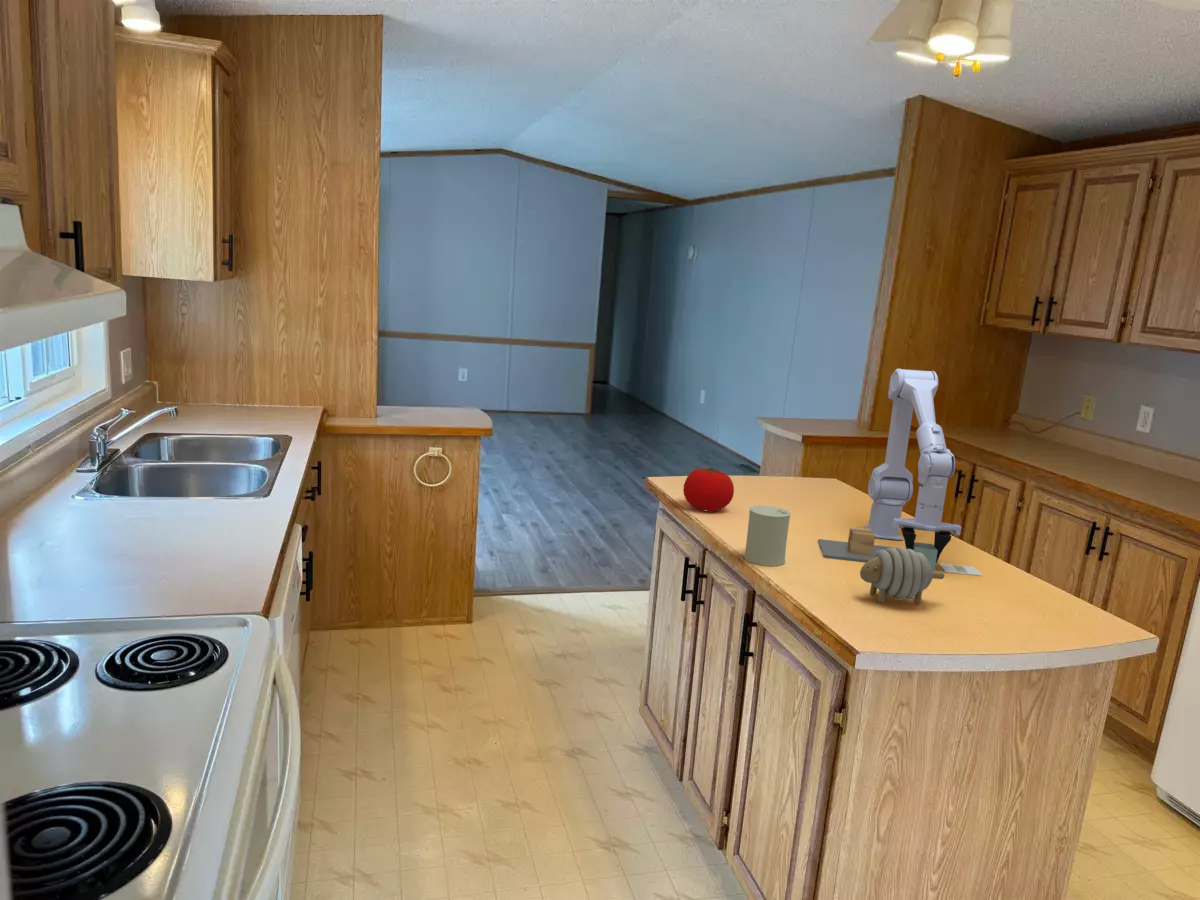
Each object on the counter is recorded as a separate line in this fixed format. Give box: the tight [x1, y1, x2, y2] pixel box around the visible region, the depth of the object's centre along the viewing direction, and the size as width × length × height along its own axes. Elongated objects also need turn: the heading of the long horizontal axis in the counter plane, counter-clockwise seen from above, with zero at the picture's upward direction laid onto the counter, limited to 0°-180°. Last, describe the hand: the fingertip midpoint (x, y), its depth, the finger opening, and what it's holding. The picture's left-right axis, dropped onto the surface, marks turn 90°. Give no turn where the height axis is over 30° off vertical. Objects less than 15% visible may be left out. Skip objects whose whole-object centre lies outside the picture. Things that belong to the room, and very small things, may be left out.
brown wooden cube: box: [847, 526, 876, 556], centre depth 198 cm, size 5×5×5 cm
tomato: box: [682, 467, 735, 512], centre depth 228 cm, size 13×14×12 cm
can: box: [743, 504, 791, 567], centre depth 188 cm, size 9×9×12 cm
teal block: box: [913, 541, 938, 571], centre depth 192 cm, size 5×5×5 cm
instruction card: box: [938, 562, 983, 577], centre depth 192 cm, size 6×8×1 cm
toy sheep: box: [859, 546, 945, 606], centre depth 169 cm, size 11×17×11 cm, turn 96°
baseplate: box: [817, 538, 894, 563], centre depth 199 cm, size 13×18×1 cm
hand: (921, 560), depth 192 cm, fingers closed on teal block, 5 cm apart
